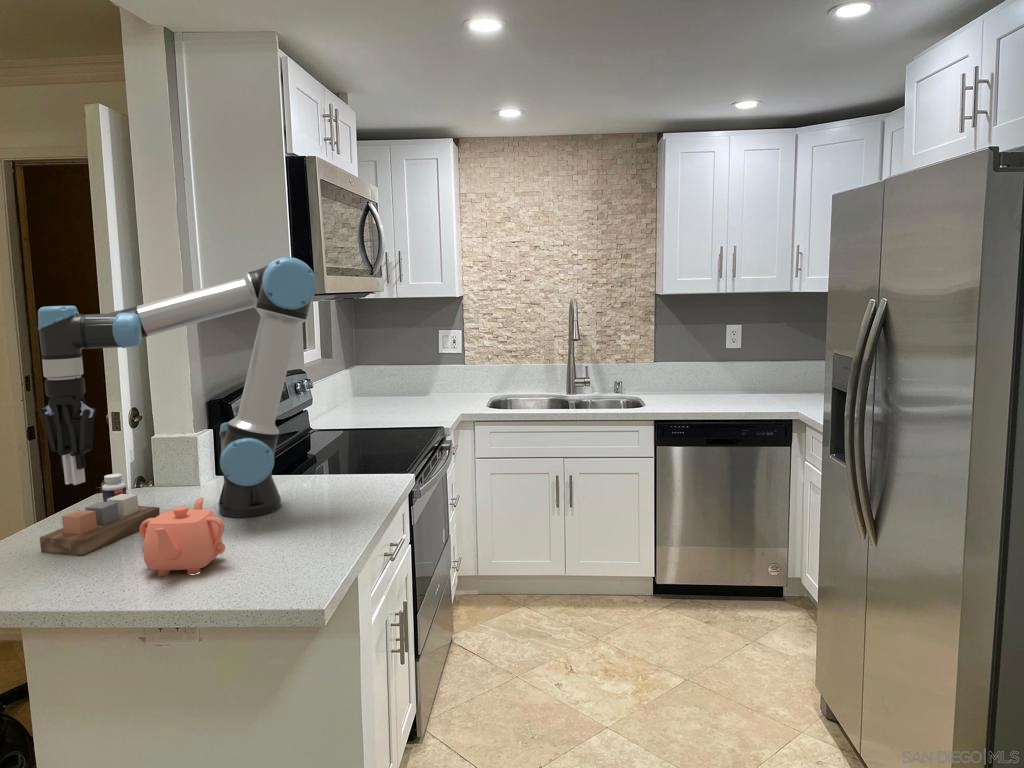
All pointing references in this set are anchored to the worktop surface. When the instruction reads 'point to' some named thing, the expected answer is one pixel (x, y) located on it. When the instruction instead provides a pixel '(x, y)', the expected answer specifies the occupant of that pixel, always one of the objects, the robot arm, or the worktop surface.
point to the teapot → (182, 539)
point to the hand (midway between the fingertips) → (75, 482)
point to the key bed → (96, 534)
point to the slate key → (104, 512)
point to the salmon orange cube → (79, 522)
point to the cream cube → (125, 504)
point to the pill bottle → (113, 486)
